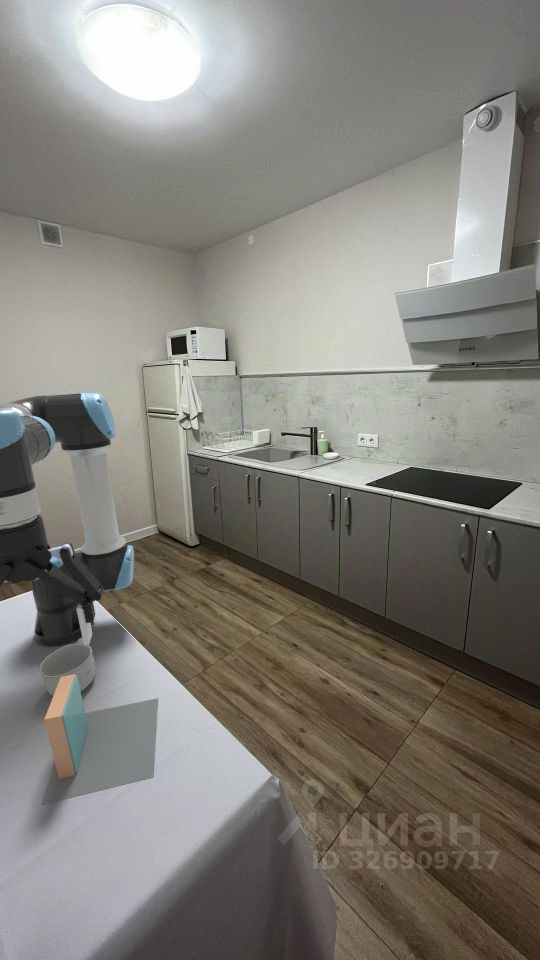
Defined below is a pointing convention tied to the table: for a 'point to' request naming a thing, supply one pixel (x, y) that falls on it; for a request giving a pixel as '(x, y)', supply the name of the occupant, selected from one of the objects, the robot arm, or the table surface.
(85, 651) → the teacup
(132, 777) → the mat
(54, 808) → the table surface
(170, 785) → the table surface
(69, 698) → the tile
